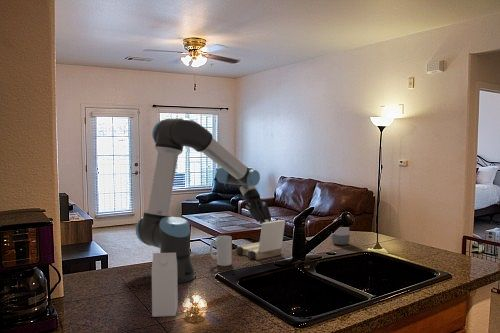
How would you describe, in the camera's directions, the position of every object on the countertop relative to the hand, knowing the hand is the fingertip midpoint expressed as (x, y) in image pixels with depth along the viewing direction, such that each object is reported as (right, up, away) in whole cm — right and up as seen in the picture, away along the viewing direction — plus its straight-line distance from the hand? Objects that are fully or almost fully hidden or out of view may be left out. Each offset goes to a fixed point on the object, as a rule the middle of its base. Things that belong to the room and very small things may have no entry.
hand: (271, 232), depth 191 cm
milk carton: (-37, -16, -61) cm, 73 cm away
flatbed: (-6, -11, +7) cm, 15 cm away
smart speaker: (+38, -11, +26) cm, 47 cm away
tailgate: (-1, -8, 0) cm, 8 cm away
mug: (-23, -13, -11) cm, 28 cm away
